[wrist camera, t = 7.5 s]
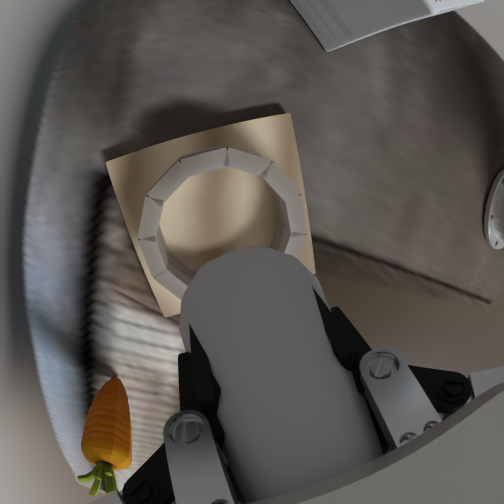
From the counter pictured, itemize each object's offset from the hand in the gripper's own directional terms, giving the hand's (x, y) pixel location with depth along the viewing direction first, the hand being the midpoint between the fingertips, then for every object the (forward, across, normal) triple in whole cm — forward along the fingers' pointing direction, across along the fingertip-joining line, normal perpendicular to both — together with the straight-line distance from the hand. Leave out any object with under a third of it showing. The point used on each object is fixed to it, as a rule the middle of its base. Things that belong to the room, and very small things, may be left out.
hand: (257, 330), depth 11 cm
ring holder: (+14, 0, 0) cm, 14 cm away
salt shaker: (+3, 0, 0) cm, 3 cm away
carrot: (+14, +16, +14) cm, 26 cm away
